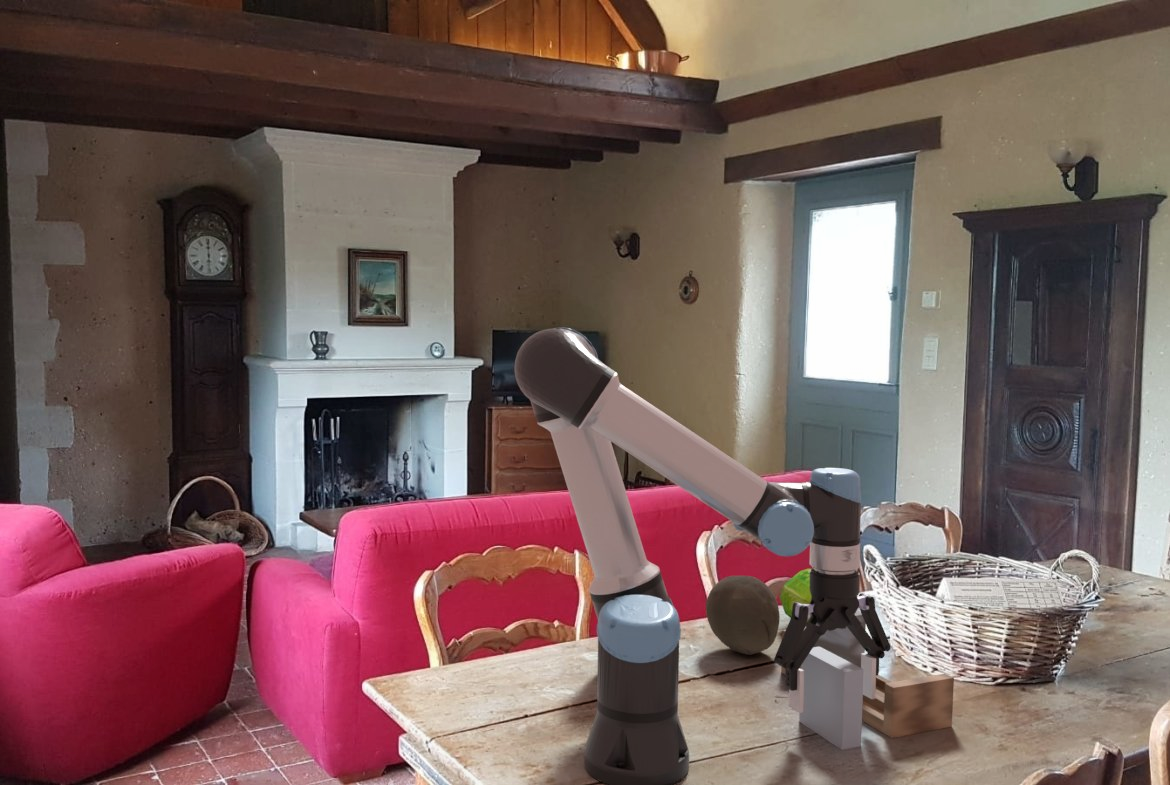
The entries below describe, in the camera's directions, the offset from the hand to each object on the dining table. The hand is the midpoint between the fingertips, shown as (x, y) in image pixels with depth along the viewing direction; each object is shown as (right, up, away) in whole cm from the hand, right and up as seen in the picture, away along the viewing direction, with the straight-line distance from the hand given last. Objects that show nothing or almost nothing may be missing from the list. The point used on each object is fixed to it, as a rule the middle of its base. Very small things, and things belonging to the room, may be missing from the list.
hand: (832, 702), depth 152 cm
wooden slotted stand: (+9, -4, +15) cm, 18 cm away
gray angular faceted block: (0, -5, 0) cm, 5 cm away
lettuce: (+10, -2, +49) cm, 50 cm away
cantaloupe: (-8, -2, +37) cm, 38 cm away
